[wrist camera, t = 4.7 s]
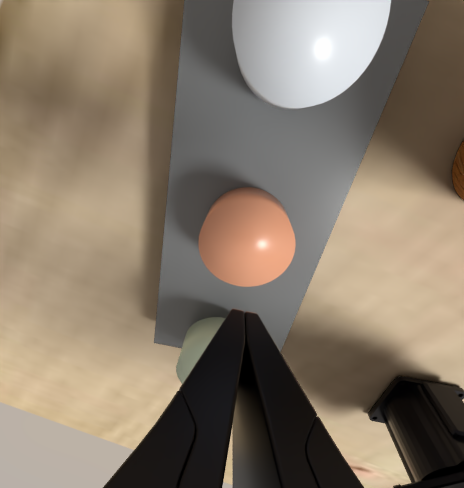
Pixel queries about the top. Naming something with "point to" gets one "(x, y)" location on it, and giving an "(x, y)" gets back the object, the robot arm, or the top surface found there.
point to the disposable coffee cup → (459, 171)
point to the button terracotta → (247, 238)
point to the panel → (260, 165)
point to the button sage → (196, 344)
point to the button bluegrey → (305, 46)
